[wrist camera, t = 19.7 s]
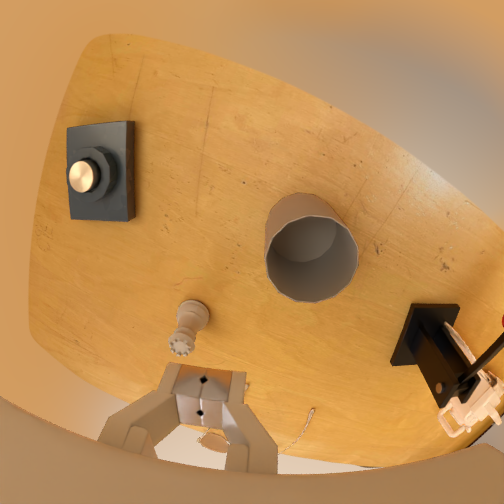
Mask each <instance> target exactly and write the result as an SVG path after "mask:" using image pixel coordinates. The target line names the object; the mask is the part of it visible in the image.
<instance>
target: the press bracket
mask: <svg viewBox="0 0 504 504" xmlns="http://www.w3.org/2000/svg"><path fill="white" fill-rule="evenodd" d="M459 310H460V307H459V306H458V304H411V307H410V310H409V313H408V316H407V318H406V321H405V324H404V327H403V330H402V332H401V335H400V338H399V340H398V343H397V345H396V348H395V350H394V353H393V355H392V358H391V360H390V363H391V365H392V366H402V365H416V364H417V365H418V367H419V368H420V370H421V372H422V374H423V376H424V378H425V380H426V382H427V384H428V386H429V388H430V390H431V392H432V394H433V396H434V398H435V400H436V403H437V405H438V407H439V408H445V407H446V405H447V404H448V402H449V401H450V399H451V397H452V396H453V394H454V393H455V391H456V389H457V388H458V386H459V385H460V383H459V382H458V380H457V378H456V377H455V375H454V374H455V373H462V372H465V371H466V370H467V369H468V368H469V367H470V366H471V363H470V362H469V360H468V359H467V358H466V356H465V355H464V353H463V352H462V350H461V349H460V348H459V346H458V345H457V343H456V342H455V341H454V339H453V338H452V336H451V335H450V332H449V330H448V329H447V327H446V326H445V325H444V323H445V321H446V322H447V323H448V324H449V325H450V326H452V327H453V325H454V323H455V320H456V318H457V315H458V313H459ZM480 381H481V378H480V377H479V375H478V374H477V373H476V374H475V375H474V376H473V377H472V378H471V379H469V380H468V385H469V388H468V389H466V390H465V391H464V392H463V393H461V394H460V395H459V396H457V397H458V398H459V400H460V402H461V404H464V403H467V401H468V400H469V398H470V397H471V395H472V394H473V392H474V391H475V389H476V387H477V386H478V384H479V383H480Z"/></svg>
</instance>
